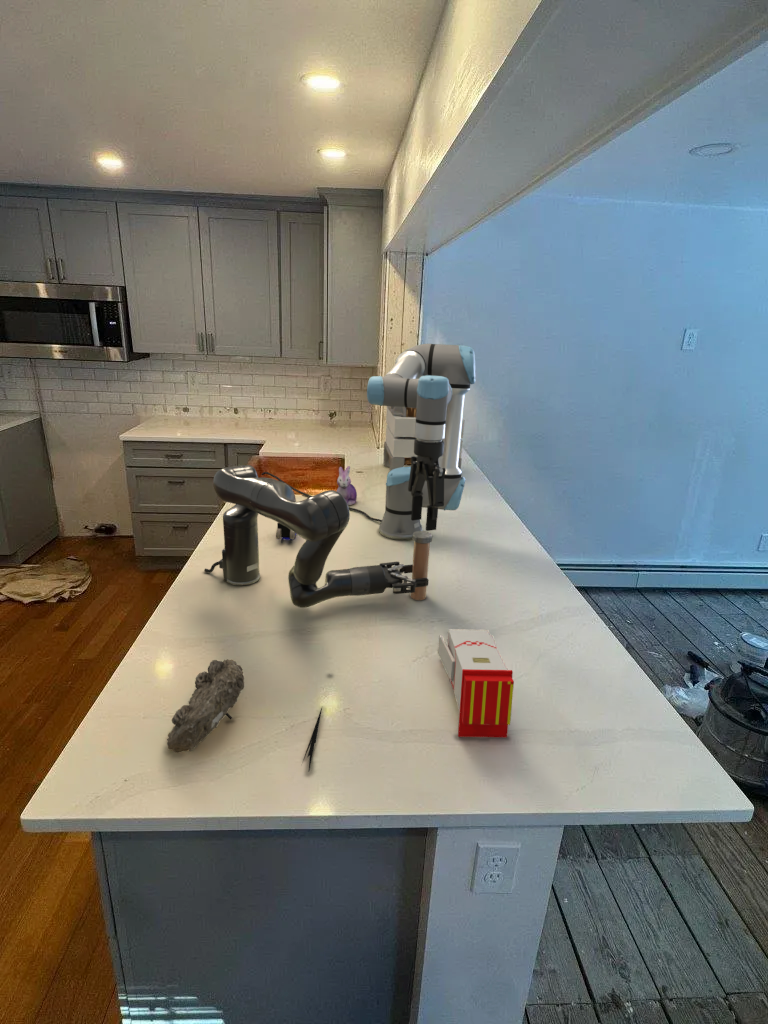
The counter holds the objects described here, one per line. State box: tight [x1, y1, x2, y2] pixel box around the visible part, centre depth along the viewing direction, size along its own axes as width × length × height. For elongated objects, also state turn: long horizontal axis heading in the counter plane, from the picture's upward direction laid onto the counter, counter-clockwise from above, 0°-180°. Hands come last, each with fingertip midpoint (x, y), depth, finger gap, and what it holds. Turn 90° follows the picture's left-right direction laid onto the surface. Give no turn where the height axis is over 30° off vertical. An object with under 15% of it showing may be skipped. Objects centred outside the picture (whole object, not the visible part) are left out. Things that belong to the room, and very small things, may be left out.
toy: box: [437, 628, 515, 738], centre depth 117 cm, size 12×13×30 cm
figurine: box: [336, 465, 358, 506], centre depth 226 cm, size 9×10×15 cm
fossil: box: [166, 658, 245, 754], centre depth 106 cm, size 22×10×15 cm
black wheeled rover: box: [275, 522, 297, 544], centre depth 191 cm, size 7×8×15 cm
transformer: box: [383, 406, 465, 472], centre depth 268 cm, size 34×33×41 cm
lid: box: [411, 530, 433, 544], centre depth 151 cm, size 5×5×2 cm
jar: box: [409, 541, 431, 601], centre depth 154 cm, size 4×4×18 cm
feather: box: [301, 673, 332, 771], centre depth 108 cm, size 2×28×2 cm
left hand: (422, 574), depth 155 cm, fingers open, 8 cm apart
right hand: (423, 524), depth 150 cm, fingers open, 7 cm apart
